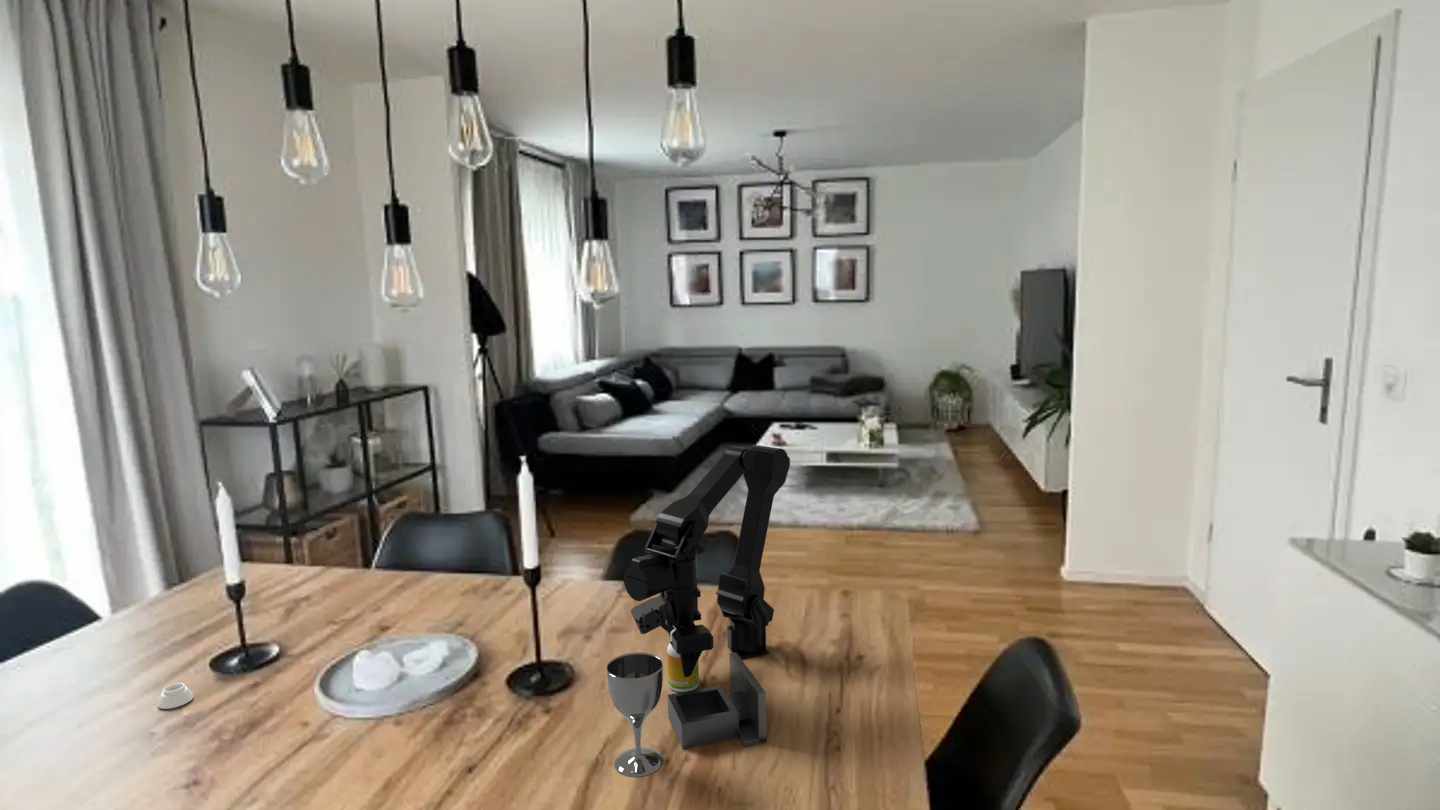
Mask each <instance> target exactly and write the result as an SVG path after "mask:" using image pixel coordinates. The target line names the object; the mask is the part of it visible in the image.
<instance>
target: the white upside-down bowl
mask: <svg viewBox="0 0 1440 810" xmlns="http://www.w3.org/2000/svg"><path fill="white" fill-rule="evenodd" d="M193 693H194V692H192V691H191V689H189V688H188V687H187V686H186V685H185V683H183V682H175V683H172V684H169V685H167V686H165V687H163V689H162V692H161V694H160V696H159V699H158V701H157V707H158V708H159V709H163V710H171V709H175V708H179V707H181V706H184V705H185V704H188V703H189V702H191V701H192V700H193V698H194V694H193Z"/></svg>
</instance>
